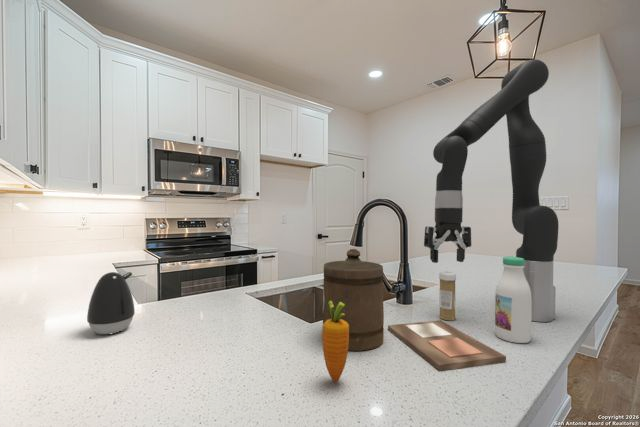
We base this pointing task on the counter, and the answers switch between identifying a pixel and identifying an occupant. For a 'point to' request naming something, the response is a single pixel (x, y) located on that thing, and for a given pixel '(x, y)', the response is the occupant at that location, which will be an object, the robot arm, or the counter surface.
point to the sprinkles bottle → (447, 295)
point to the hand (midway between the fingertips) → (447, 262)
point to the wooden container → (356, 299)
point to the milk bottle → (513, 303)
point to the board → (445, 345)
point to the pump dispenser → (111, 304)
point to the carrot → (335, 342)
